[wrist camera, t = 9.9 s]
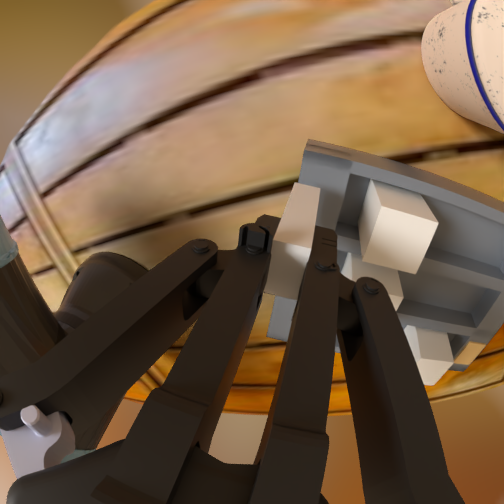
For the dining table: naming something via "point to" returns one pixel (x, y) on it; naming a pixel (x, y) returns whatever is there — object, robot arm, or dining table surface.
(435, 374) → the tab
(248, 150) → the dining table surface
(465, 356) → the switch bank
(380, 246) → the tab
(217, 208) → the dining table surface
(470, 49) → the teacup with lid
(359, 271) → the tab
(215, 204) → the dining table surface
